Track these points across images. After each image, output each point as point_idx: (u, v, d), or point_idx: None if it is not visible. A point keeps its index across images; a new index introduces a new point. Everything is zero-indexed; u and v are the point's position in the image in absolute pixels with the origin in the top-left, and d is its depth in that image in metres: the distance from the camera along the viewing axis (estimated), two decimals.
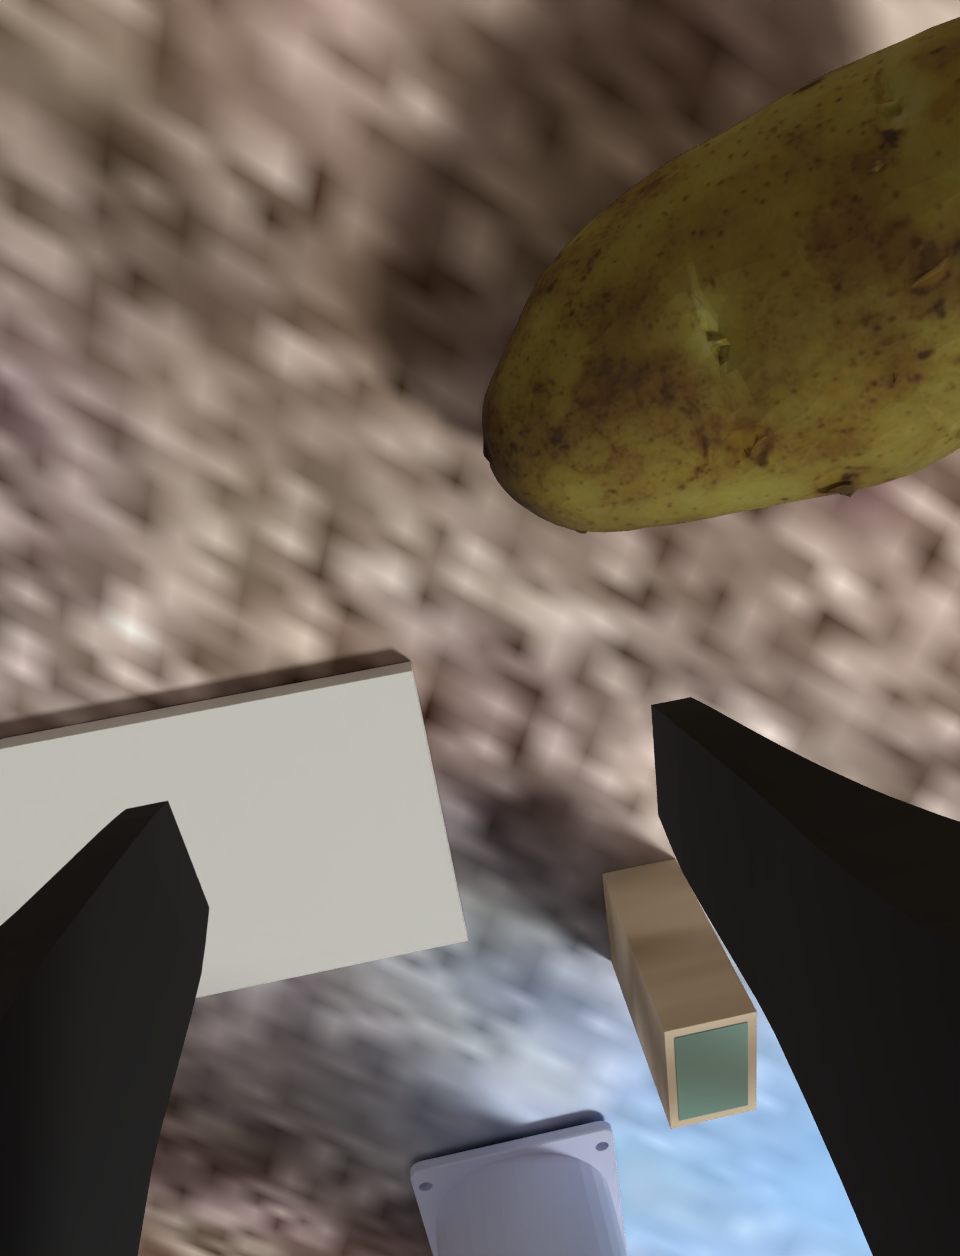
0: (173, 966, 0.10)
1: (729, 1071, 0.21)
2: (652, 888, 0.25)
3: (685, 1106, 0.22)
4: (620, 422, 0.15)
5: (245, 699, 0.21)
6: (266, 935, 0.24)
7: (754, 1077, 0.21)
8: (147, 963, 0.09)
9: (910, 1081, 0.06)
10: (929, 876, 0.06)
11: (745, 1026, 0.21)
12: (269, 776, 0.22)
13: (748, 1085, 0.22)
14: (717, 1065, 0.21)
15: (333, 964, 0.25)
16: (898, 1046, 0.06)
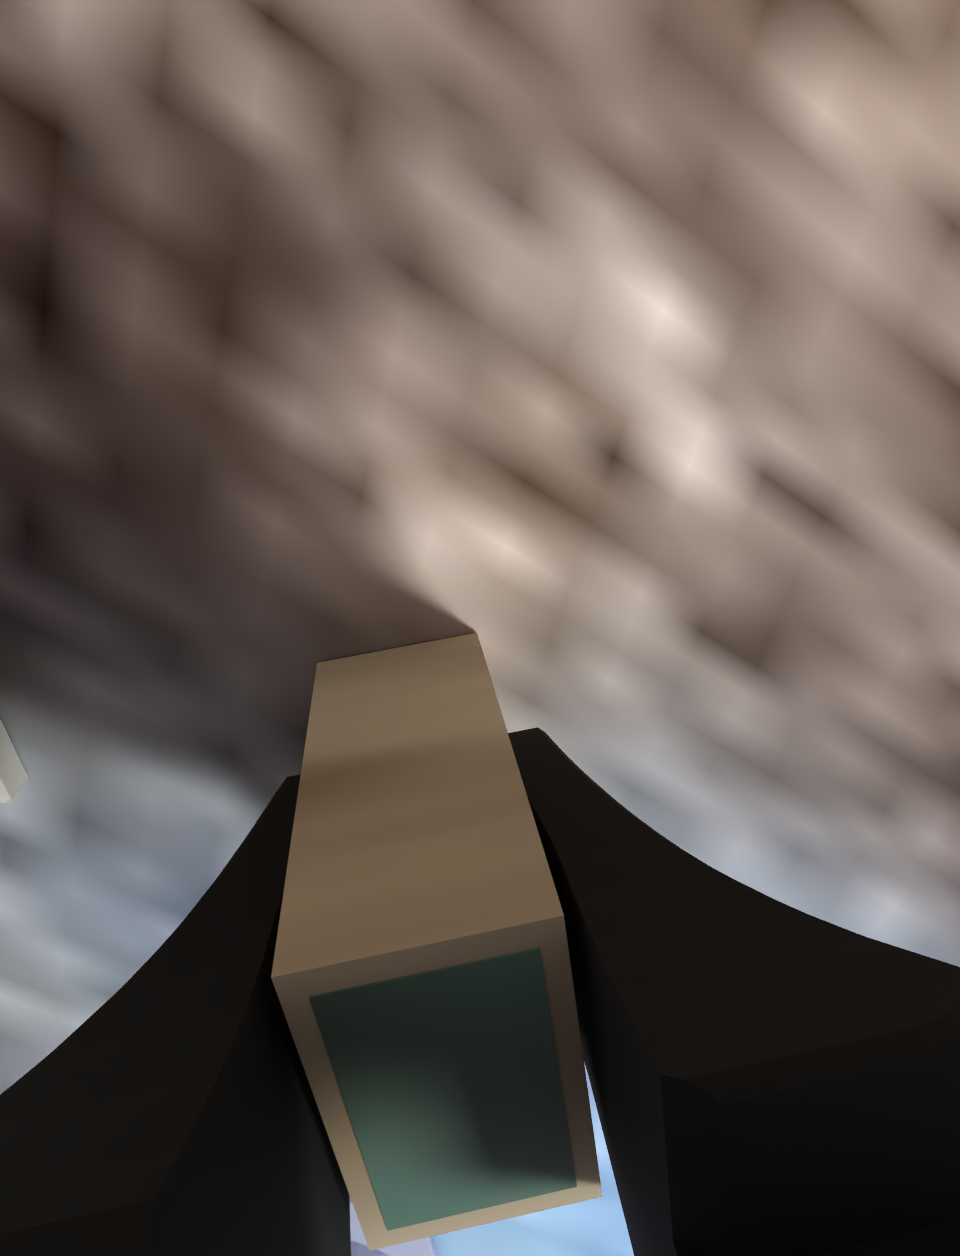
0: None
1: (510, 1095, 0.07)
2: (406, 678, 0.11)
3: (396, 1194, 0.08)
4: None
5: None
6: None
7: (584, 1113, 0.08)
8: None
9: (635, 1144, 0.06)
10: (658, 934, 0.06)
11: (533, 964, 0.07)
12: None
13: (572, 1133, 0.08)
14: (467, 1080, 0.07)
15: None
16: (627, 1108, 0.06)
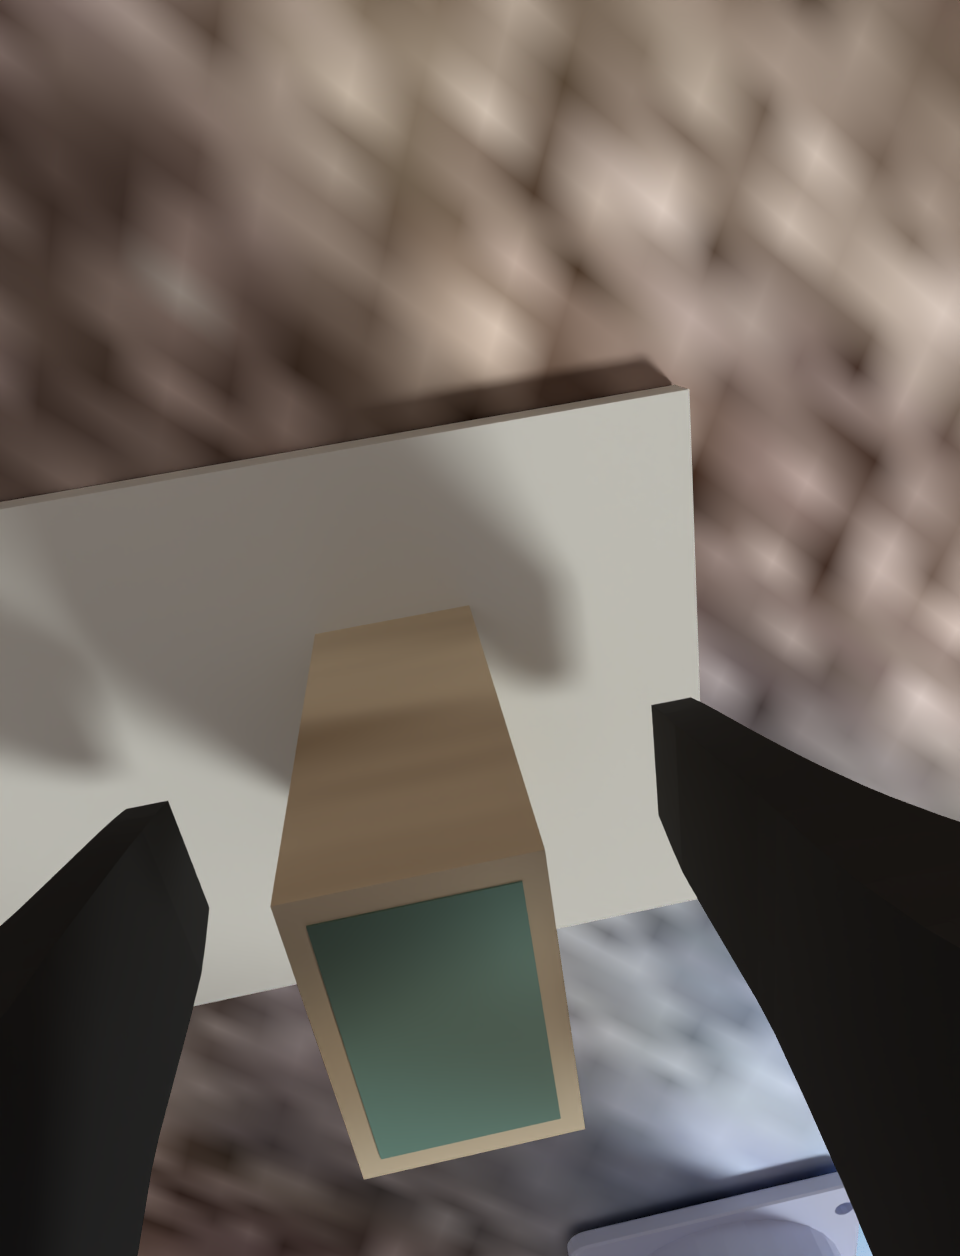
0: (173, 966, 0.10)
1: (495, 1026, 0.08)
2: (400, 646, 0.11)
3: (389, 1122, 0.08)
4: None
5: (386, 439, 0.11)
6: None
7: (567, 1045, 0.08)
8: (147, 963, 0.09)
9: (910, 1081, 0.06)
10: (929, 876, 0.06)
11: (517, 897, 0.07)
12: (420, 593, 0.12)
13: (555, 1066, 0.08)
14: (455, 1011, 0.08)
15: None
16: (898, 1046, 0.06)
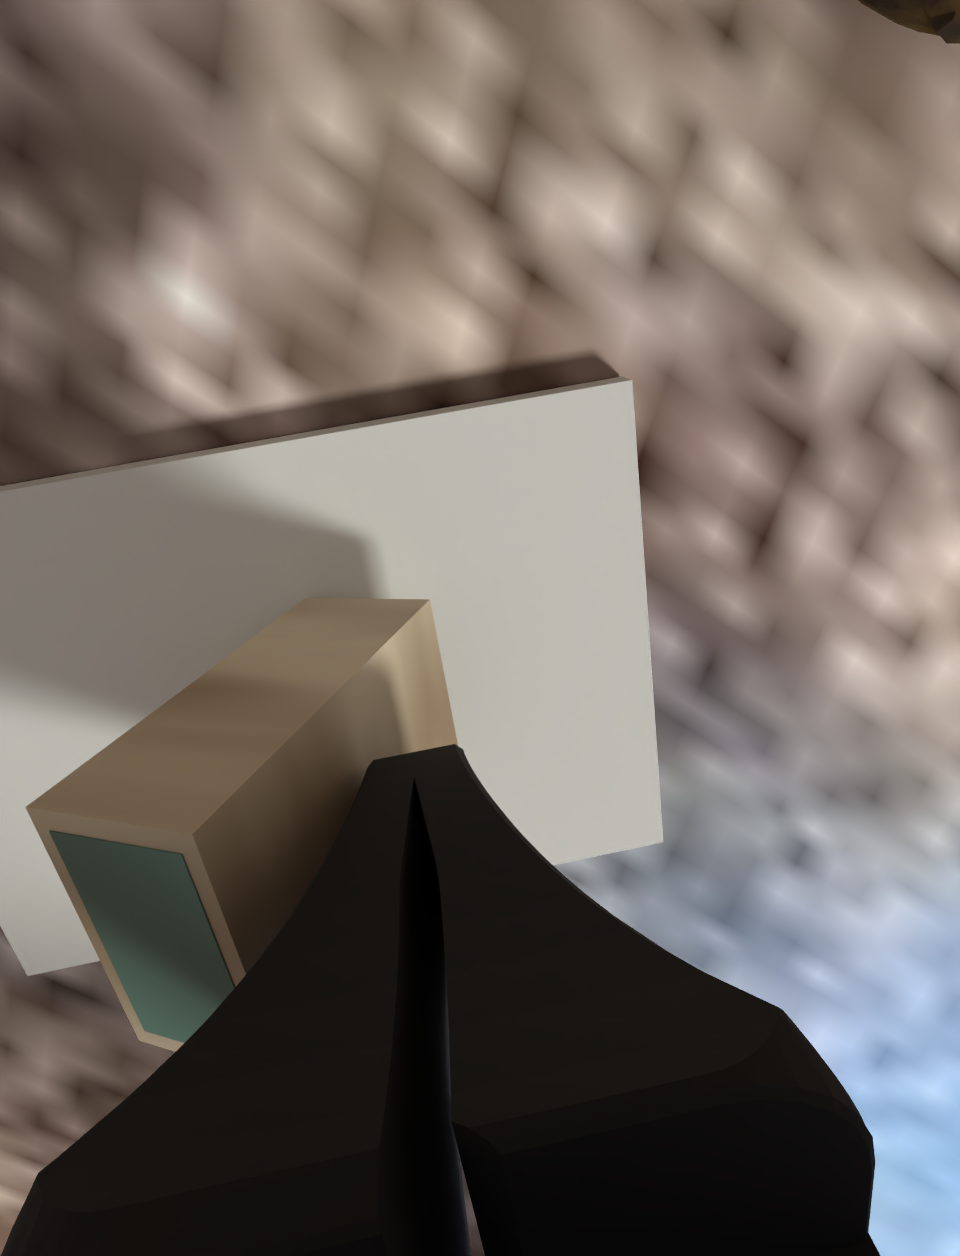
0: (436, 910, 0.10)
1: (196, 967, 0.09)
2: (338, 625, 0.13)
3: (141, 1005, 0.10)
4: None
5: (367, 425, 0.13)
6: None
7: None
8: (429, 904, 0.10)
9: None
10: (510, 966, 0.06)
11: (183, 866, 0.08)
12: (398, 562, 0.14)
13: None
14: (162, 939, 0.09)
15: None
16: None
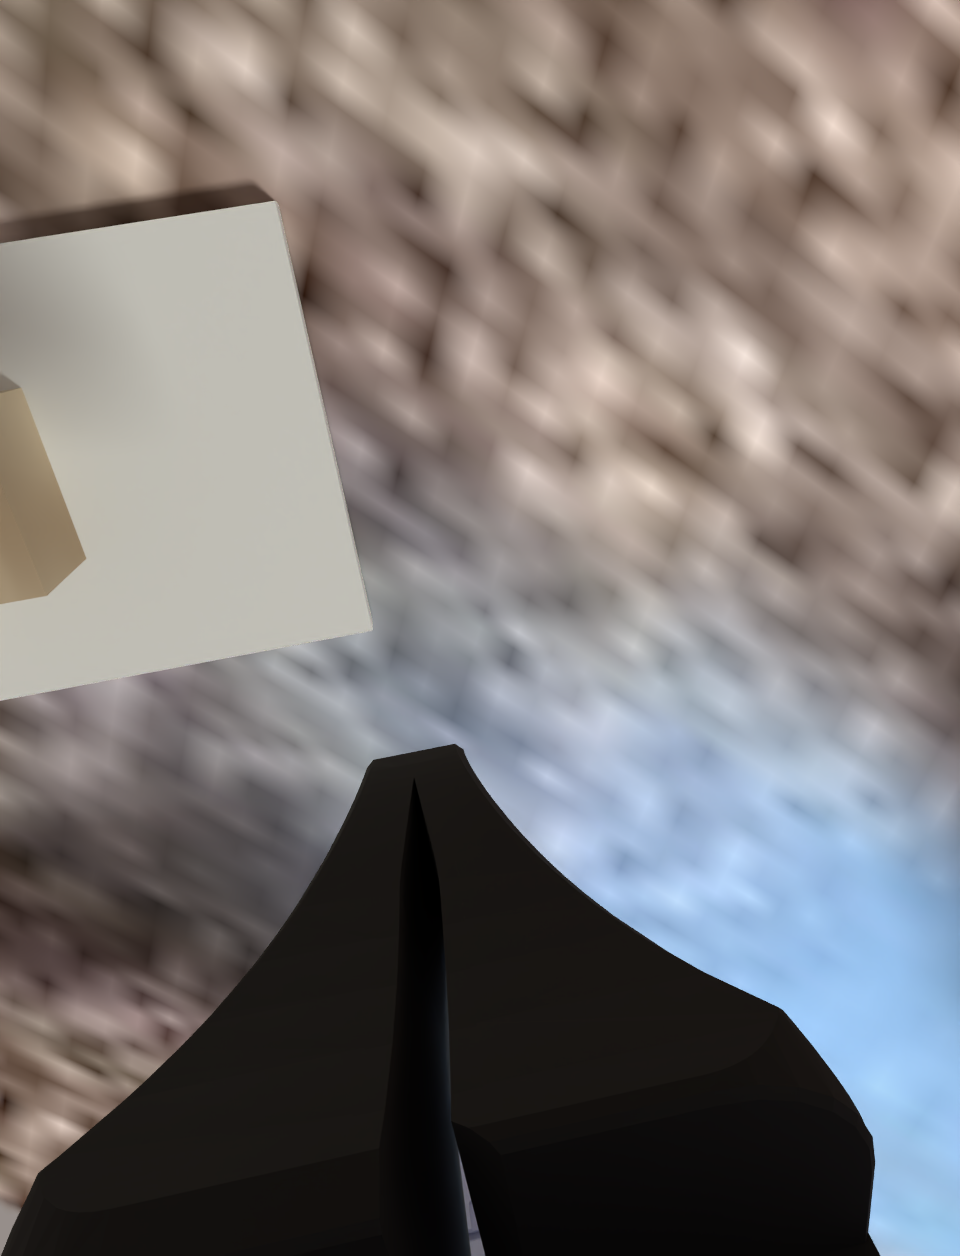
0: (436, 911, 0.10)
1: None
2: None
3: None
4: None
5: (57, 235, 0.16)
6: (114, 606, 0.19)
7: None
8: (429, 904, 0.10)
9: None
10: (510, 966, 0.06)
11: None
12: (98, 357, 0.17)
13: None
14: None
15: (204, 655, 0.20)
16: None
